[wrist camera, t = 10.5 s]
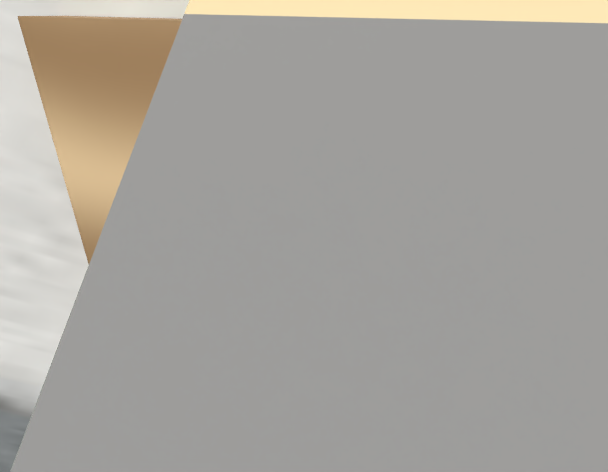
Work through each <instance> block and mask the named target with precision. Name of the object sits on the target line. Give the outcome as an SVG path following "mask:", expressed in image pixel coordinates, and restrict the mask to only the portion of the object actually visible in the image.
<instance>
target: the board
mask: <svg viewBox="0 0 608 472" xmlns="http://www.w3.org/2000/svg"><path fill="white" fill-rule="evenodd" d="M18 20H19V23H20V27H21V30H22V34H23V37H24V41H25V44H26V48H27V51H28V55H29V58H30V62H31V65H32V69H33V72H34V75H35V79H36V82H37V86H38V89H39V93H40V96H41V100H42V103H43V107H44V110H45V114H46V117H47V121H48V124H49V128H50V131H51V135H52V138H53V142H54V145H55V148H56V152H57V155H58V159H59V162H60V166H61V169H62V173H63V176H64V180H65V183H66V187H67V190H68V194H69V197H70V201H71V204H72V208H73V211H74V215H75V218H76V221H77V225H78V228H79V232H80V235H81V239H82V242H83V246H84V249H85V253H86V256H87V260H88V263H90V261H91V258H92V256H93V253H94V250H95V248H96V245H97V242H98V240H99V237H100V235H101V232H102V229H103V227H104V224H105V221H106V219H107V216H108V213H109V211H110V208H111V206H112V203H113V200H114V198H115V195H116V192H117V190H118V187H119V185H120V182H121V179H122V177H123V174H124V171H125V169H126V166H127V164H128V161H129V158H130V156H131V153H132V150H133V148H134V145H135V142H136V140H137V137H138V135H139V132H140V129H141V127H142V124H143V121H144V119H145V116H146V114H147V111H148V108H149V106H150V103H151V100H152V98H153V95H154V92H155V90H156V87H157V85H158V82H159V79H160V77H161V74H162V71H163V69H164V66H165V64H166V61H167V58H168V56H169V53H170V50H171V48H172V45H173V43H174V40H175V37H176V35H177V32H178V29H179V27H180V24H181V21H182V19H165V18H125V17H86V16H18Z"/></svg>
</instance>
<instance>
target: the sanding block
mask: <svg viewBox="0 0 608 472" xmlns="http://www.w3.org/2000/svg"><path fill="white" fill-rule="evenodd" d="M10 472H608V0H189V3H188V6H187V8H186V11H185V14H184V16H183V19H182V21H181V24H180V27H179V29H178V32H177V35H176V37H175V40H174V43H173V45H172V48H171V50H170V53H169V56H168V58H167V61H166V64H165V66H164V69H163V71H162V74H161V77H160V79H159V82H158V85H157V87H156V90H155V92H154V95H153V98H152V100H151V103H150V106H149V108H148V111H147V114H146V116H145V119H144V121H143V124H142V127H141V129H140V132H139V135H138V137H137V140H136V142H135V145H134V148H133V150H132V153H131V156H130V158H129V161H128V164H127V166H126V169H125V171H124V174H123V177H122V179H121V182H120V185H119V187H118V190H117V192H116V195H115V198H114V200H113V203H112V206H111V208H110V211H109V213H108V216H107V219H106V221H105V224H104V227H103V229H102V232H101V235H100V237H99V240H98V242H97V245H96V248H95V250H94V253H93V256H92V258H91V261H90V263H89V266H88V269H87V271H86V274H85V277H84V279H83V282H82V285H81V287H80V290H79V292H78V295H77V298H76V300H75V303H74V306H73V308H72V311H71V313H70V316H69V319H68V321H67V324H66V327H65V329H64V332H63V334H62V337H61V340H60V342H59V345H58V348H57V350H56V353H55V356H54V358H53V361H52V363H51V366H50V369H49V371H48V374H47V377H46V379H45V382H44V384H43V387H42V390H41V392H40V395H39V398H38V400H37V403H36V406H35V408H34V411H33V413H32V416H31V419H30V421H29V424H28V427H27V429H26V432H25V434H24V437H23V440H22V442H21V445H20V448H19V450H18V453H17V455H16V458H15V461H14V463H13V466H12V469H11V471H10Z"/></svg>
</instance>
